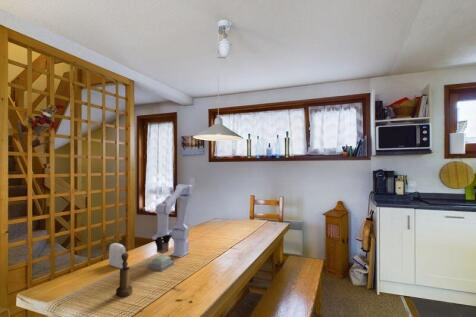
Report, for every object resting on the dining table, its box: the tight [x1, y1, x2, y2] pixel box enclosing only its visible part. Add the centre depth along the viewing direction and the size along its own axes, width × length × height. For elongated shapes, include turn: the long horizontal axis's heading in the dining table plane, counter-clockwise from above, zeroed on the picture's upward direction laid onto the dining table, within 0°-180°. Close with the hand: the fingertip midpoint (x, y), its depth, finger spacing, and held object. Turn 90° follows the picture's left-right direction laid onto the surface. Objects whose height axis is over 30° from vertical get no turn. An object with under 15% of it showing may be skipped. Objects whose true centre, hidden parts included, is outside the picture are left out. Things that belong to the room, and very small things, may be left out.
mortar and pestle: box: [115, 252, 133, 298], centre depth 115 cm, size 7×6×18 cm
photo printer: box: [108, 242, 126, 269], centre depth 145 cm, size 10×4×12 cm, turn 60°
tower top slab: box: [151, 254, 172, 266], centre depth 146 cm, size 7×7×2 cm
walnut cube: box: [156, 242, 170, 255], centre depth 146 cm, size 4×4×4 cm
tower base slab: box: [147, 260, 175, 272], centre depth 146 cm, size 10×10×2 cm
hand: (162, 249), depth 146 cm, fingers closed on walnut cube, 4 cm apart
